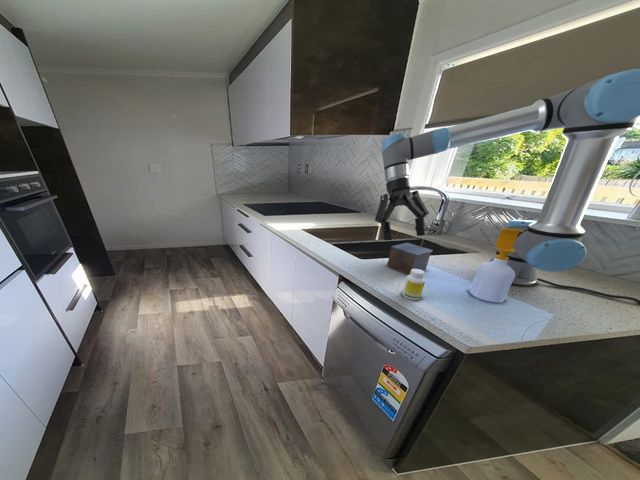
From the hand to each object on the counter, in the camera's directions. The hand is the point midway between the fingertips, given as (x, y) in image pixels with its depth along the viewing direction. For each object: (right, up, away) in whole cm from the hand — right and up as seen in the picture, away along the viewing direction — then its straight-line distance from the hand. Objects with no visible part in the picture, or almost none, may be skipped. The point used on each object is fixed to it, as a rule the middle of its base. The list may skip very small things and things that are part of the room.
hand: (404, 238), depth 88 cm
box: (+11, -12, +18) cm, 24 cm away
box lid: (+11, -4, +14) cm, 19 cm away
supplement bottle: (0, -21, -3) cm, 21 cm away
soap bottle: (+26, -21, -3) cm, 34 cm away
